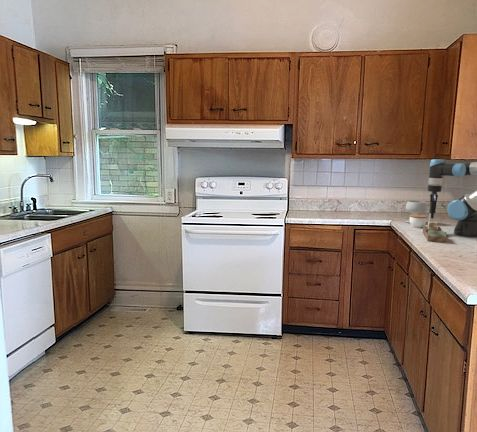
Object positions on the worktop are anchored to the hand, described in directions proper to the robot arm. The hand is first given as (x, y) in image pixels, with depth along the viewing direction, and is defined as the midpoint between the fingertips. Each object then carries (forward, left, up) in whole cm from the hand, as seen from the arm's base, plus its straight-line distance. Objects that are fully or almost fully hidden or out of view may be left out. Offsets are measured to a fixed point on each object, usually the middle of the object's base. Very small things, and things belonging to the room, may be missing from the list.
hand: (431, 223), depth 260 cm
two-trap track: (0, +15, -6) cm, 16 cm away
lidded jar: (+6, -19, -6) cm, 21 cm away
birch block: (0, +6, -3) cm, 7 cm away
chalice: (+6, -37, -6) cm, 38 cm away
